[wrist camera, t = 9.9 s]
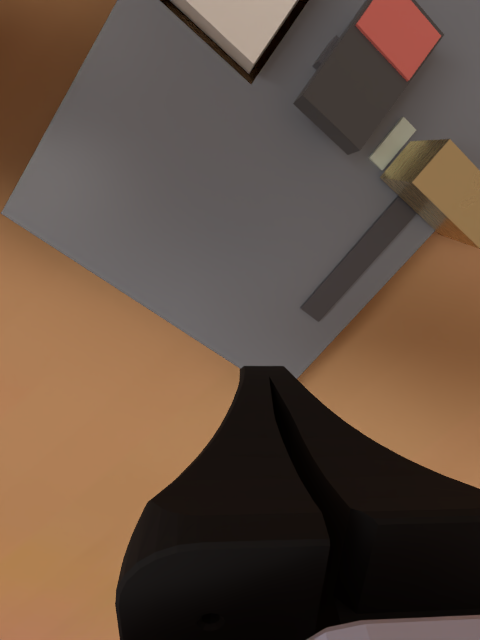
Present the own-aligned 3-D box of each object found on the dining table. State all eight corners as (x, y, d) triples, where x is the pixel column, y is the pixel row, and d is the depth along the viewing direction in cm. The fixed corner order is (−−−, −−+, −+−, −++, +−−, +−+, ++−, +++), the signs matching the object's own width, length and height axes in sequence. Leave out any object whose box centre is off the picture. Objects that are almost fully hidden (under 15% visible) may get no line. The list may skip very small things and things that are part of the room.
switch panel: (16, 208, 18) (-12, 217, 16) (338, -367, 12) (366, -487, 10) (277, 380, 23) (284, 406, 21) (604, 22, 17) (666, 2, 15)
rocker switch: (292, 103, 14) (303, 93, 13) (374, -12, 14) (392, -32, 13) (347, 155, 15) (362, 149, 14) (426, 47, 15) (446, 33, 14)
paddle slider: (379, 177, 17) (411, 182, 14) (410, 141, 16) (449, 138, 14) (439, 234, 18) (480, 248, 15) (469, 201, 18) (517, 211, 15)
